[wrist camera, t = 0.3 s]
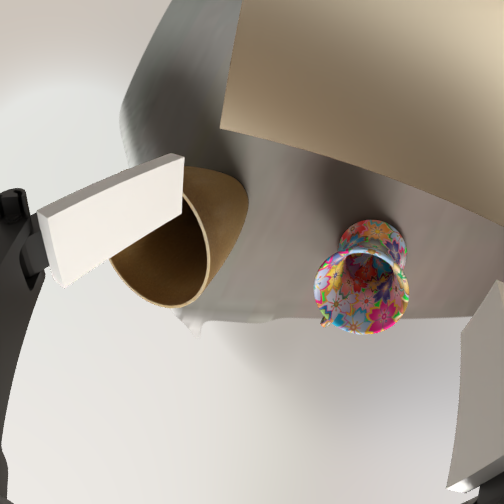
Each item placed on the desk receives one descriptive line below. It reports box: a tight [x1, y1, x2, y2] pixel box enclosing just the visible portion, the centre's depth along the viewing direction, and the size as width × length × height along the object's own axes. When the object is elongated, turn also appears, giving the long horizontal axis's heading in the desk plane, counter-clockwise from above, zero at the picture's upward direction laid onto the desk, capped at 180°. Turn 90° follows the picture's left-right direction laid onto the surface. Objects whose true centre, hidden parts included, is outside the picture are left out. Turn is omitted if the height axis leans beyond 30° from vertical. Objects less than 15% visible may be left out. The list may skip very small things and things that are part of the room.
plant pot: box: [109, 166, 248, 308], centre depth 37 cm, size 15×15×16 cm
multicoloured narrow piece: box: [314, 220, 409, 334], centre depth 34 cm, size 12×9×11 cm
